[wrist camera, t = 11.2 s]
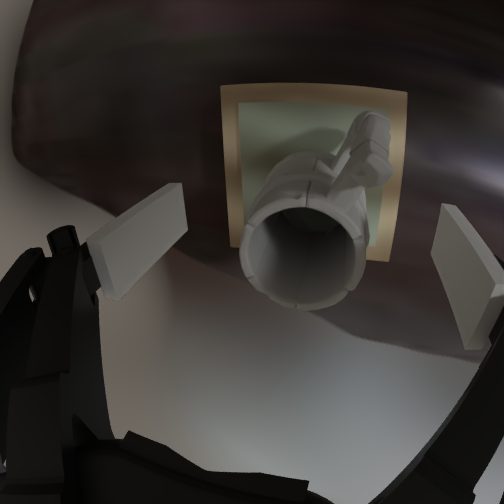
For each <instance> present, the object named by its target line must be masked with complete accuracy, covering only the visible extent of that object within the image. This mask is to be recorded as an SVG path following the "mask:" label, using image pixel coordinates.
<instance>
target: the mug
mask: <svg viewBox="0 0 504 504" xmlns="http://www.w3.org/2000/svg"><path fill="white" fill-rule="evenodd" d="M390 129H391V121H390V119H389V118H388V117H386V116H384V115H383V114H381V113H379V112H376V111H364V112H362V113H360V114H358V115H357V116H356V118H355V119H354V121H353V122H352V124H351V126H350V128H349V130H348V133H347V137H346V139H345V141H344V142H343V144H342V146H341V148H340V150H339V151H338V153H337V155H336V156H335V155H332V154H330V153H326V152H322V151H302V152H298V153H294V154H290V155H289V156H287V157H286V158H284V159H283V160H281V161H280V162H279V163H277V164H276V165H275V166H274V168H273V169H272V170H271V171H270V173H269V174H268V176H267V177H266V179H265V182H264V185H263V188H262V190H261V191H260V192H259V194H258V195H257V196H256V198H255V199H254V201H253V203H252V205H251V207H250V210H249V213H248V217H247V220H246V224H245V226H244V228H243V231H242V235H241V241H240V248H239V256H240V262H241V266H242V269H243V272H244V274H245V276H246V277H248V281H249V282H250V283H251V284H252V285H253V286H254V287H255V289H256V290H257V291H259V292H263V293H265V294H267V295H268V296H269V298H270V299H271V300H274V301H275V302H277V303H278V304H280V305H282V306H286V307H289V308H292V309H295V308H296V305H297V310H316V309H322V308H326V307H329V306H331V305H334V304H336V303H338V302H339V301H341V300H342V299H343V298H344V297H345V296H346V295H347V292H348V290H352V291H353V290H354V289H355V287H356V286H357V285H358V283H359V281H360V280H361V278H362V275H363V272H364V269H365V264H366V249H367V246H368V244H369V239H370V234H369V226H368V220H367V216H366V213H367V208H366V195H365V190H364V189H365V188H367V189H369V188H372V187H376V186H381V185H383V184H384V183H386V182H387V181H388V180H389V179H390V178H391V176H392V175H393V174H394V168H393V167H392V165H391V164H390V163H389V161H388V158H389V152H390V147H389V144H390V140H391V135H390V133H389V131H390ZM295 207H307V208H311V209H315V210H318V211H320V212H323V213H325V214H327V215H329V216H331V218H330V221H329V224H328V228H327V231H322V232H316V231H313V232H312V231H311V230H310V228H309V227H308V226H307V224H306V223H305V222H304V220H303V219H302V218H301V217H300V215H299V214H298V213H297V211H296V210H295V209H294V208H295ZM284 209H285V211H286V213H287V216H288V218H289V221H288V220H287V218H286V217H285V216H284V214H283V212H282V211H281V210H284ZM338 223H340V224H339V225H338V226H336V225H337V224H338ZM335 226H336V227H335Z"/></svg>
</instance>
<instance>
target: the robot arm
mask: <svg viewBox="0 0 504 504" xmlns="http://www.w3.org/2000/svg"><path fill="white" fill-rule="evenodd" d="M187 230H188V227H187V220H186V213H185V205H184V198H183V190H182V183H168V184H167V185H165V186H164V187H162V188H161V189H159V190H157V191H156V192H154V193H153V194H151V195H150V196H148V197H147V198H145V199H143V200H142V201H140V202H139V203H137V204H136V205H134V206H133V207H131V208H130V209H128V210H127V211H126V212H124V213H123V214H121V215H120V216H118V217H117V218H115V219H114V220H113V221H111V222H110V223H108V224H107V225H105V226H104V227H103V228H101V229H100V230H98V231H97V232H96V233H94V234H93V235H92V236H90V237H89V238H87V239H86V242H85V243H83V244H82V245H81V246H80V244H79V241H78V237H77V234H76V230H75V227H74V226H72V225H67V226H62V227H59V228H57V229H55V230H53V231H52V232H50V233H49V234H48V235H47V240H48V243H49V246H50V249H51V252H52V257H45V255H44V253H43V250H42V248H40V247H37V248H30V249H28V250H26V251H25V252H24V253H23V254H22V255H20V256H19V258H18V259H17V260H16V261H15V263H14V264H13V265H12V267H11V268H10V269H9V271H8V272H7V273H6V275H5V276H4V277H3V279H2V280H1V281H0V504H334V503H332V502H331V501H329V500H328V499H326V498H324V497H322V496H320V495H318V494H316V493H314V492H311V491H308V490H307V488H308V484H309V481H307V480H300V479H292V478H286V477H281V476H275V475H270V474H264V473H238V472H213V471H207V470H204V469H202V468H200V467H199V466H197V465H195V464H194V463H192V462H190V461H189V460H187V459H186V458H184V457H183V456H181V455H179V454H178V453H176V452H175V451H173V450H172V449H170V448H169V447H167V446H166V445H163V444H161V443H158V442H155V441H153V440H150V439H148V438H145V437H143V436H141V435H138V434H136V433H134V432H131V431H128V432H127V434H126V435H125V437H124V439H115V437H114V435H113V433H112V430H111V426H110V420H109V414H108V408H107V401H106V394H105V386H104V377H103V369H102V357H101V344H100V329H99V301H98V300H99V299H98V296H97V294H96V291H97V290H98V289H99V288H100V287H101V288H102V291H103V294H104V296H105V298H106V299H110V300H113V301H117V302H119V301H120V300H121V299H122V298H123V297H124V296H125V294H126V293H127V292H128V291H129V290H130V289H131V288H132V287H133V286H134V285H135V284H136V283H137V281H139V280H140V278H141V277H142V276H143V275H144V274H145V273H146V272H147V271H148V270H149V269H150V268H151V267H152V266H153V265H154V264H155V263H156V262H157V261H158V260H159V259H160V258H161V256H163V255H164V254H165V253H166V252H167V250H169V249H170V247H171V246H172V245H173V244H174V243H175V242H176V241H177V240H178V239H179V238H180V237H181V236H182V235H183V234H184V233H185V232H186V231H187ZM431 256H432V258H433V261H434V263H435V265H436V268H437V270H438V273H439V275H440V278H441V280H442V283H443V285H444V288H445V291H446V293H447V296H448V299H449V302H450V304H451V307H452V310H453V313H454V316H455V319H456V322H457V325H458V328H459V332H460V335H461V338H462V341H463V345H464V348H465V350H482V349H483V347H484V345H485V343H486V341H487V340H488V338H490V341H491V344H492V346H491V348H490V350H489V351H488V353H487V355H486V356H485V358H484V360H483V361H482V363H481V364H480V366H479V369H478V371H477V373H476V374H475V376H474V377H473V379H472V381H471V382H470V384H469V386H468V387H467V389H466V390H465V392H464V394H463V395H462V396H461V398H460V399H459V401H458V402H457V404H456V405H455V407H454V408H453V410H452V411H451V412H450V414H449V415H448V417H447V418H446V419H445V421H444V422H443V423H442V425H441V426H440V427H439V429H438V430H437V431H436V432H435V434H434V435H433V436H432V438H431V439H430V440H429V441H428V443H427V444H426V445H425V446H424V447H423V448H422V450H421V451H420V452H419V453H418V454H417V455H416V457H415V458H414V459H413V460H412V461H411V462H410V464H409V465H408V466H407V467H406V468H405V469H404V470H403V471H402V472H401V473H400V474H399V475H398V476H397V477H396V478H395V480H393V481H392V482H391V483H390V484H389V485H388V486H387V487H386V488H385V489H384V490H383V491H382V492H381V493H380V494H379V495H378V496H377V497H376V498H374V499H373V500H372V501H371V502H370V503H368V504H473V502H474V500H475V496H476V495H475V494H474V493H473V489H474V487H475V485H476V484H477V482H478V480H479V479H480V477H481V476H482V474H483V472H484V471H485V469H486V467H487V466H488V464H489V462H490V461H491V459H492V457H493V455H494V453H495V452H496V450H497V448H498V446H499V444H500V442H501V440H502V438H503V436H504V262H503V261H502V260H500V259H499V258H498V257H497V256H496V255H493V254H492V252H491V251H490V249H489V248H488V247H487V245H486V244H485V243H484V241H483V240H482V238H481V237H480V236H479V234H478V233H477V232H476V230H475V229H474V228H473V227H472V225H471V224H470V223H469V221H468V220H467V219H466V218H465V216H464V215H463V214H462V213H461V212H460V210H459V209H458V208H457V207H456V206H455V205H450V204H443V203H442V205H441V210H440V215H439V220H438V225H437V230H436V234H435V238H434V242H433V247H432V251H431ZM29 288H30V290H31V293H32V295H33V297H34V300H33V302H32V300H31V298H30V295H29ZM5 460H6V467H5V466H4V465H3V464H4V462H5ZM499 504H504V492H503V495H502V498H501V501H500V503H499Z"/></svg>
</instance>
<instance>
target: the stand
mask: <svg viewBox="0 0 504 504" xmlns="http://www.w3.org/2000/svg"><path fill="white" fill-rule="evenodd" d="M220 90H221V109H222V128H223V145H224V162H225V177H226V192H227V207H228V221H229V235H230V247H236V248H240V241H241V235H242V231H243V228H244V226H245V224H246V220H247V217H248V213H249V210H250V207H251V205H252V203H253V201H254V199H255V198H256V196H257V195H258V194H259V192H260V191H261V190H262V188H263V185H264V182H265V179H266V177H267V176H268V174H269V173H270V171H271V170H272V169H273V168H274V166H275V165H276V164H277V163H279V162H280V161H281V160H283V159H284V158H286V157H287V156H289V155H290V154H294V153H298V152H302V151H322V152H326V153H330V154H332V155H335V156H336V155H337V153H338V151H339V150H340V148H341V146H342V144H343V142H344V141H345V139H346V137H347V133H348V130H349V128H350V126H351V124H352V122H353V121H354V119H355V118H356V116H357V115H358V114H360V113H362V112H364V111H376V112H379V113H381V114H383V115H384V116H386V117H388V118H389V119H390V121H391V129H390V131H389V133H390V135H391V140H390V144H389V147H390V152H389V158H388V161H389V163H390V164H391V165H392V167H393V168H394V174H393V175H392V176H391V178H390V179H389V180H388V181H387V182H386V183H384V184H383V185H381V186H376V187H372V188H369V189H367V188H365V189H364V190H365V195H366V208H367V213H366V216H367V220H368V226H369V234H370V239H369V244H368V246H367V249H366V260H377V261H387V262H389V257H390V252H391V247H392V241H393V236H394V230H395V224H396V218H397V211H398V204H399V197H400V189H401V181H402V172H403V162H404V150H405V137H406V119H407V92H403V91H396V90H389V89H381V88H372V87H363V86H352V85H338V84H320V83H255V84H236V85H222V86H220ZM294 209H295V210H296V211H297V213H298V214H299V215H300V217H301V218H302V219H303V220H304V222H305V223H306V224H307V226H308V227H309V228H310V230H311V231H312V232H313V231H316V232H322V231H327V228H328V224H329V221H330V218H331V216H329V215H327V214H325V213H323V212H320V211H318V210H315V209H311V208H307V207H295V208H294ZM281 211H282V212H283V214H284V216H285V217H286V218H287V220H288V221H289V218H288V216H287V213H286V211H285V209H284V210H281ZM339 224H340V223H338V224H337V225H336V226H338V225H339ZM336 226H335V227H336Z"/></svg>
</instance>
